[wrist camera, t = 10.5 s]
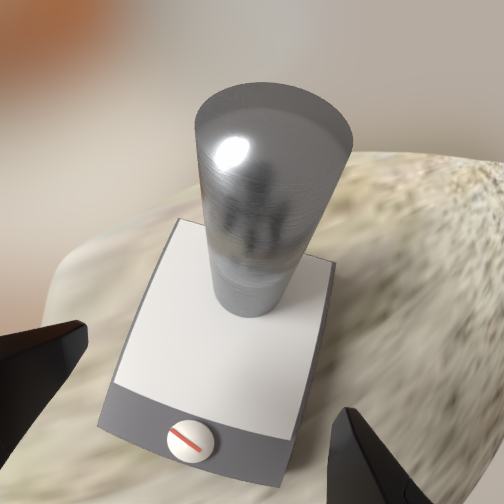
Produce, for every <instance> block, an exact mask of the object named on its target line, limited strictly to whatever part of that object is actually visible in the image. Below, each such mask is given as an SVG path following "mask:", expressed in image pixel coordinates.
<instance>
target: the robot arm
mask: <svg viewBox="0 0 504 504" xmlns="http://www.w3.org/2000/svg"><path fill="white" fill-rule="evenodd" d="M87 347H88V328H87V325H86V324H85V323H83V322H81V321H79V320H73V321H69V322H64V323H60V324H55V325H51V326H46V327H42V328H37V329H32V330H28V331H23V332H19V333H13V334H9V335H3V336H0V470H1V468H2V467H3V465H4V464H5V462H6V461H7V459H8V458H9V456H10V454H11V453H12V452H13V450H14V449H15V447H16V446H17V445H18V443H19V442H20V440H21V439H22V438H23V436H24V435H25V433H26V432H27V431H28V429H29V428H30V427H31V425H32V424H33V423H34V421H35V420H36V419H37V417H38V416H39V415H40V413H41V412H42V411H43V409H44V408H45V407H46V405H47V404H48V403H49V401H50V400H51V399H52V398H53V396H54V395H55V394H56V392H57V391H58V390H59V389H60V387H61V386H62V385H63V384H64V382H65V381H66V380H67V378H68V377H69V375H70V374H71V372H72V371H73V369H74V368H75V366H76V364H77V363H78V361H79V360H80V358H81V357H82V355H83V353H84V352H85V350H86V349H87ZM327 504H433V503H432V502H431V501H430V500H429V499H428V498H427V497H426V496H425V494H424V493H423V492H422V491H421V490H420V489H419V487H418V486H417V485H416V484H415V483H414V481H413V480H412V479H411V478H409V475H408V474H407V473H406V471H405V470H404V469H403V468H402V466H401V465H400V464H399V463H398V461H397V460H396V459H395V458H394V456H393V455H392V454H391V453H390V451H389V450H388V449H387V447H386V446H385V445H384V444H383V442H382V441H381V440H380V439H379V437H378V436H377V435H376V433H375V432H374V431H373V430H372V428H371V427H370V426H369V424H368V423H367V422H366V421H365V419H364V418H363V417H362V415H361V414H360V413H359V412H358V410H357V409H355V408H350V407H344V408H343V409H342V410H341V412H340V413H339V415H338V416H337V418H336V419H335V421H334V423H333V425H332V431H331V440H330V448H329V456H328V465H327Z"/></svg>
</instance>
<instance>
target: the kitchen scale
mask: <svg viewBox="0 0 504 504" xmlns="http://www.w3.org/2000/svg"><path fill="white" fill-rule="evenodd" d="M335 267H336V263H335V262H332V261H328V260H325V259H321V258H318V257H315V256H311V255H308V254H303V256H302V258H301V260H300V262H299V264H298V266H297V268H296V270H295V272H294V274H293V276H292V278H291V280H290V282H289V284H288V286H287V288H286V290H285V292H284V294H283V296H282V298H281V300H280V301H279V303H278V304H277V306H276V307H275V308H274V309H273V310H271V311H270V312H269V313H267V314H265V315H262V316H260V317H255V318H244V317H239V316H236V315H234V314H232V313H230V312H228V311H227V310H226V309H224V308H223V307H222V306H221V304H220V303H219V302H218V300H217V298H216V296H215V293H214V289H213V282H212V275H211V268H210V261H209V253H208V246H207V238H206V230H205V225H202V224H198V223H195V222H191V221H188V220H184V219H180V218H178V220H177V222H176V224H175V226H174V228H173V230H172V232H171V234H170V236H169V239H168V241H167V243H166V245H165V247H164V249H163V252H162V254H161V256H160V258H159V260H158V263H157V265H156V267H155V269H154V272H153V274H152V276H151V279H150V281H149V283H148V286H147V288H146V290H145V293H144V295H143V298H142V300H141V302H140V305H139V307H138V310H137V312H136V315H135V317H134V320H133V322H132V325H131V328H130V330H129V333H128V335H127V338H126V341H125V343H124V346H123V349H122V351H121V354H120V357H119V360H118V363H117V365H116V368H115V371H114V374H113V377H112V380H111V383H110V386H109V389H108V392H107V395H106V398H105V401H104V404H103V408H102V411H101V414H100V417H99V421H98V424H97V427H99V428H101V429H103V430H105V431H107V432H109V433H111V434H113V435H115V436H117V437H119V438H121V439H123V440H125V441H127V442H130V443H132V444H134V445H136V446H139V447H141V448H143V449H146V450H148V451H150V452H153V453H155V454H158V455H160V456H163V457H166V458H168V459H171V460H174V461H177V462H179V463H182V464H185V465H188V466H191V467H194V468H197V469H201V470H204V471H207V472H211V473H214V474H218V475H221V476H225V477H229V478H233V479H237V480H241V481H246V482H250V483H255V484H260V485H265V486H271V487H277V488H280V485H281V482H282V479H283V476H284V473H285V470H286V467H287V464H288V461H289V458H290V455H291V452H292V449H293V446H294V443H295V439H296V436H297V433H298V429H299V426H300V423H301V419H302V416H303V412H304V408H305V405H306V401H307V397H308V394H309V390H310V386H311V382H312V378H313V374H314V370H315V366H316V362H317V357H318V353H319V349H320V344H321V340H322V335H323V331H324V326H325V321H326V316H327V311H328V306H329V301H330V296H331V290H332V285H333V279H334V273H335Z"/></svg>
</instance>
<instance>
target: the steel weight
mask: <svg viewBox="0 0 504 504" xmlns="http://www.w3.org/2000/svg"><path fill="white" fill-rule="evenodd" d="M195 137H196V147H197V158H198V168H199V178H200V187H201V196H202V205H203V214H204V222H205V230H206V238H207V246H208V253H209V261H210V268H211V275H212V282H213V289H214V293H215V296H216V298H217V300H218V302H219V303H220V304H221V306H222V307H223V308H224V309H226V310H227V311H228V312H230V313H232V314H234V315H236V316H239V317H244V318H255V317H260V316H262V315H265V314H267V313H269V312H270V311H271V310H273V309H274V308H275V307H276V306H277V304H278V303H279V301H280V300H281V298H282V296H283V294H284V292H285V290H286V288H287V286H288V284H289V282H290V280H291V278H292V276H293V274H294V272H295V270H296V268H297V266H298V264H299V262H300V260H301V258H302V256H303V254H304V252H305V250H306V248H307V246H308V244H309V242H310V240H311V238H312V236H313V234H314V232H315V230H316V228H317V226H318V224H319V222H320V219H321V217H322V215H323V213H324V211H325V209H326V207H327V205H328V202H329V200H330V198H331V196H332V194H333V192H334V190H335V187H336V185H337V183H338V181H339V179H340V176H341V174H342V172H343V170H344V168H345V165H346V163H347V161H348V159H349V156H350V154H351V151H352V147H353V136H352V132H351V129H350V127H349V125H348V123H347V121H346V120H345V118H344V117H343V116H342V114H341V113H340V112H339V111H338V110H337V109H336V108H334V107H333V106H332V105H331V104H330V103H328V102H327V101H325V100H324V99H322V98H320V97H319V96H317V95H315V94H313V93H310V92H308V91H306V90H303V89H300V88H297V87H293V86H289V85H285V84H278V83H268V82H257V83H246V84H240V85H236V86H233V87H230V88H226V89H224V90H222V91H220V92H218V93H216V94H214V95H213V96H212V97H210V98H209V99H208V100H206V102H204V103H203V105H202V106H201V107H200V109H199V110H198V113H197V115H196V118H195Z"/></svg>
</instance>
